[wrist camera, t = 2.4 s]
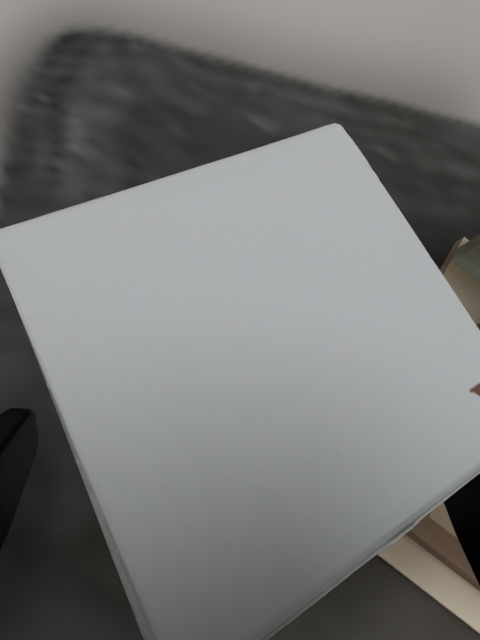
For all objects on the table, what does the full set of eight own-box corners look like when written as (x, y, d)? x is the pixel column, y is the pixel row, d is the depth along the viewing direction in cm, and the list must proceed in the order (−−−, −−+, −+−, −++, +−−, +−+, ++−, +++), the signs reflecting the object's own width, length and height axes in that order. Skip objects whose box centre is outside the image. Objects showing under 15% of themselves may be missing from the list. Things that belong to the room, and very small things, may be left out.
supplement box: (240, 304, 20) (350, 108, 8) (306, 431, 18) (565, 435, 6) (105, 362, 17) (-31, 218, 5) (170, 512, 16) (175, 747, 4)
